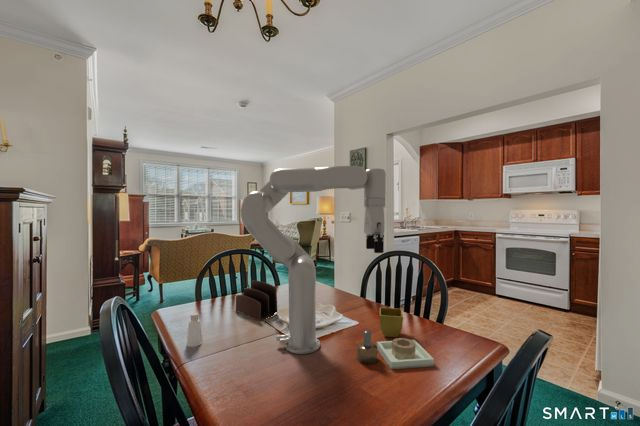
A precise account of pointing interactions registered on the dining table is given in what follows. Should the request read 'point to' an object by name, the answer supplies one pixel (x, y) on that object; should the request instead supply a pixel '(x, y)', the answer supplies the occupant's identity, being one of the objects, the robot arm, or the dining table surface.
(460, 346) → the dining table surface
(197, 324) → the salt shaker
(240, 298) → the letter holder
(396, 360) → the tray
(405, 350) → the birch ring
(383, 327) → the flower pot
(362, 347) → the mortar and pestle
